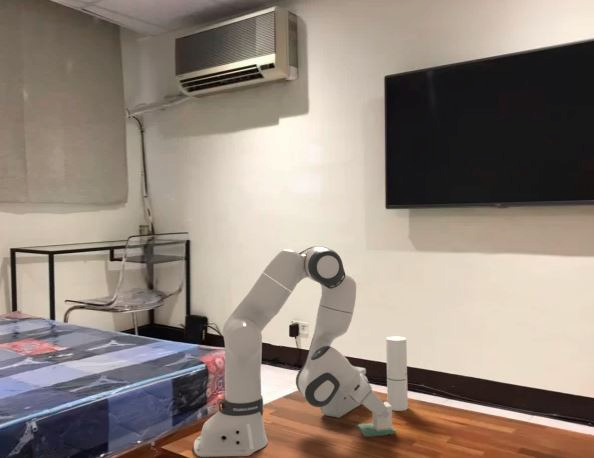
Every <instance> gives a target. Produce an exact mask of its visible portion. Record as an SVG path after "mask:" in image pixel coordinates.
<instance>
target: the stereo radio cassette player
mask: <svg viewBox="0 0 594 458" xmlns="http://www.w3.org/2000/svg"><path fill="white" fill-rule="evenodd" d="M355 367H356V368H357V369H358V370H359V371H360V372H361V373H362V374H364V375H366V373H367V369H366V367H362V366H361V367H360V366H355ZM361 405H362V404H361V403H357V402H356V401H354V400H352V399H349V398H347V397H346V396H345V395H344V394H343V393H342V392H341V391H340V390H339V389H338V391H337V392H336V394H335V396H334V397H333V398H332V400H331V401H330V402H329V403H328V404H327V405H325V406H323V407H319V408H320V413H321V414H323V415H324V416H326V417H327V416H328V417H334V418H338V419H339V418H341V417H342V416H344V415H346V414H348V413H349V412H351V411H353V410H354V409H356V408H357V407H359V406H361Z"/></svg>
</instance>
